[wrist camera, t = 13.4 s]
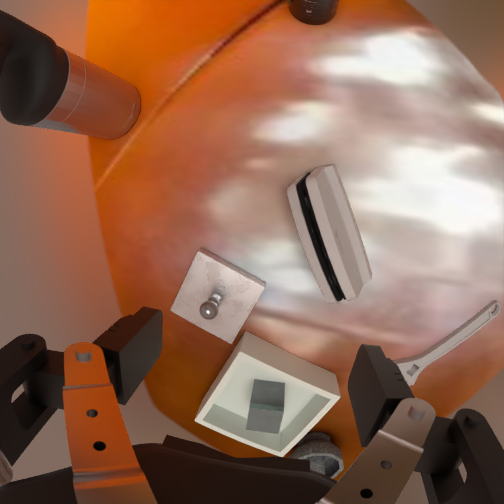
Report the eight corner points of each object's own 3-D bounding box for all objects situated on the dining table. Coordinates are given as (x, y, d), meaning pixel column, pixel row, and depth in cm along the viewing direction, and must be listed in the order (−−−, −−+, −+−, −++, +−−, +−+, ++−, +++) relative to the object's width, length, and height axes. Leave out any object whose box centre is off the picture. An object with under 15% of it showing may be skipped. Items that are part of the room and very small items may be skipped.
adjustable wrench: (494, 296, 39) (500, 299, 38) (498, 324, 40) (503, 328, 39) (373, 368, 44) (376, 374, 42) (383, 393, 45) (386, 399, 43)
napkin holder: (372, 277, 41) (366, 312, 32) (341, 284, 43) (328, 320, 35) (333, 161, 38) (317, 165, 29) (301, 173, 40) (276, 181, 32)
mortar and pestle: (284, 430, 48) (282, 480, 37) (336, 421, 47) (344, 470, 35) (295, 464, 50) (294, 510, 39) (341, 456, 49) (347, 502, 37)
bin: (203, 398, 48) (194, 420, 42) (245, 330, 44) (239, 351, 39) (283, 433, 48) (282, 457, 43) (335, 374, 45) (340, 397, 39)
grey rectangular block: (254, 378, 45) (249, 407, 38) (284, 382, 45) (283, 411, 38) (251, 401, 46) (245, 429, 39) (280, 404, 46) (278, 433, 39)
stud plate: (174, 305, 45) (157, 324, 38) (202, 248, 42) (187, 259, 36) (233, 337, 45) (225, 361, 38) (265, 282, 42) (262, 300, 36)
